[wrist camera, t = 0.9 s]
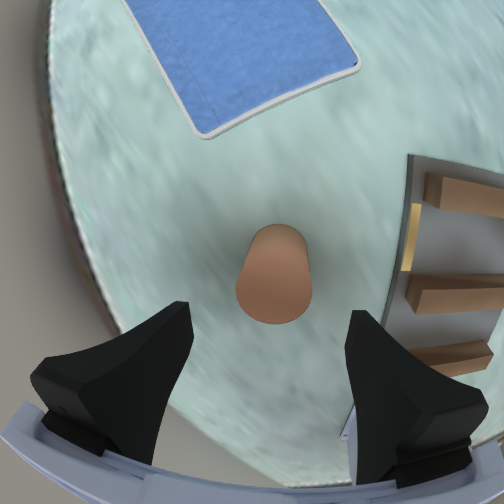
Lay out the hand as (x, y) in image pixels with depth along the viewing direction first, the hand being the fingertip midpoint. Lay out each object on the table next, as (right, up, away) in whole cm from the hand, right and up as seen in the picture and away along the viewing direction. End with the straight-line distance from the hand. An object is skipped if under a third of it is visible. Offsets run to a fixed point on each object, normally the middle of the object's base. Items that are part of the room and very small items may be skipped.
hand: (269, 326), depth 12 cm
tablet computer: (-3, +21, +2) cm, 22 cm away
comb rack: (+17, +1, +7) cm, 18 cm away
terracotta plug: (+1, +3, +8) cm, 9 cm away
